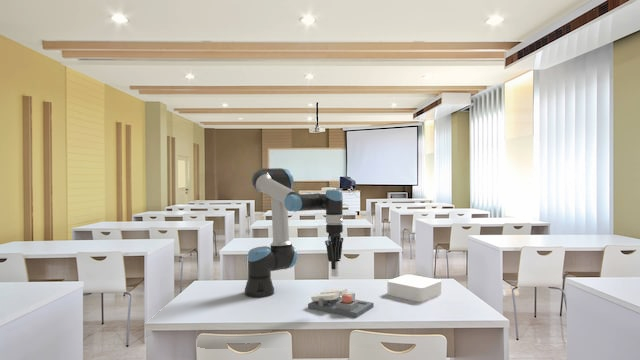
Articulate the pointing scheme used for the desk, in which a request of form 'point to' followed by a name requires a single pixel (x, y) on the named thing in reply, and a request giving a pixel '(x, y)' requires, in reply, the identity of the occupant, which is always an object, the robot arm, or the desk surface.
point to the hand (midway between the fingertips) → (334, 275)
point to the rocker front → (325, 296)
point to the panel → (342, 306)
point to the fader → (352, 295)
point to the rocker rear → (335, 291)
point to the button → (347, 298)
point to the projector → (414, 287)
